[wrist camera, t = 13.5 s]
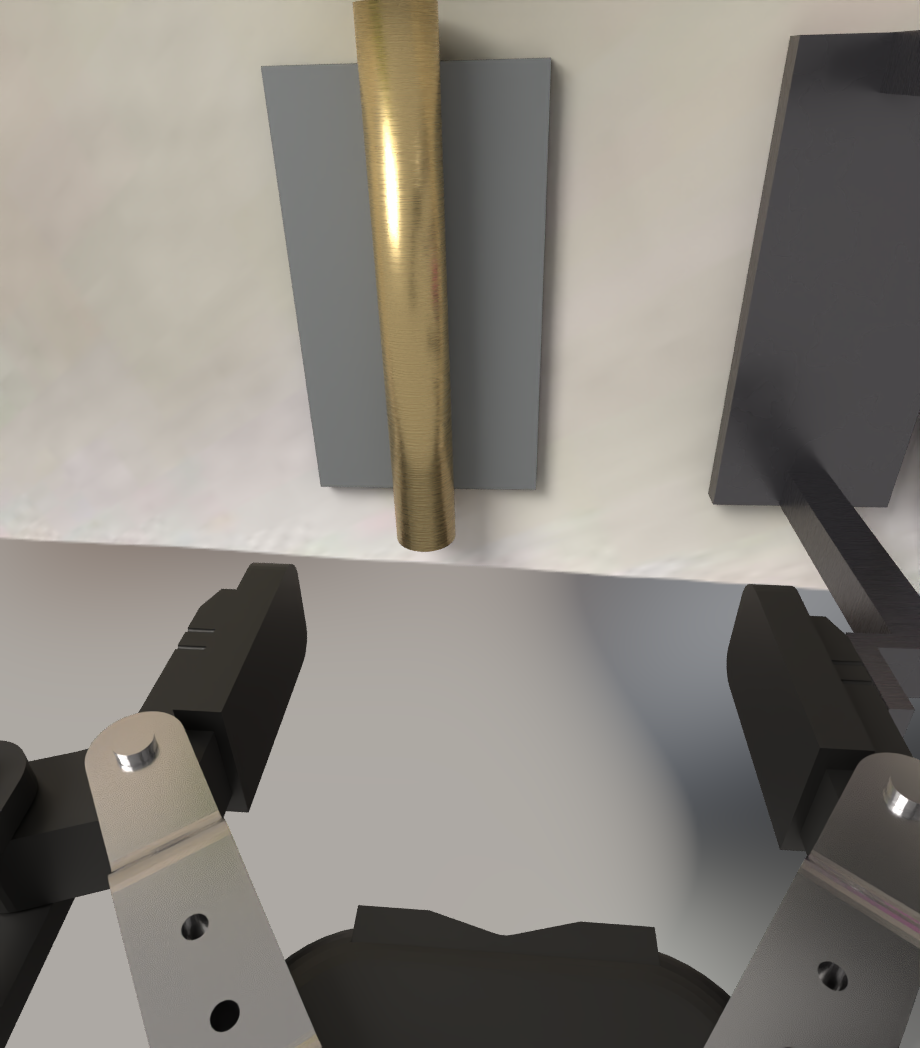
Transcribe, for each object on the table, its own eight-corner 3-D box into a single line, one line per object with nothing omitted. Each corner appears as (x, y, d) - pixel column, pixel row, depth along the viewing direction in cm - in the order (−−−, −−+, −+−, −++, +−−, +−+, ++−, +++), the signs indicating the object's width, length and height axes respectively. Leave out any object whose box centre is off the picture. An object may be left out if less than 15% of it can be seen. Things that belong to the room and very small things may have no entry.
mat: (266, 66, 31) (260, 66, 30) (550, 58, 30) (551, 57, 30) (324, 479, 42) (320, 486, 41) (535, 482, 41) (535, 489, 40)
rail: (362, 6, 29) (343, 0, 26) (442, 3, 29) (431, -3, 26) (402, 519, 42) (392, 550, 39) (458, 521, 42) (452, 552, 39)
